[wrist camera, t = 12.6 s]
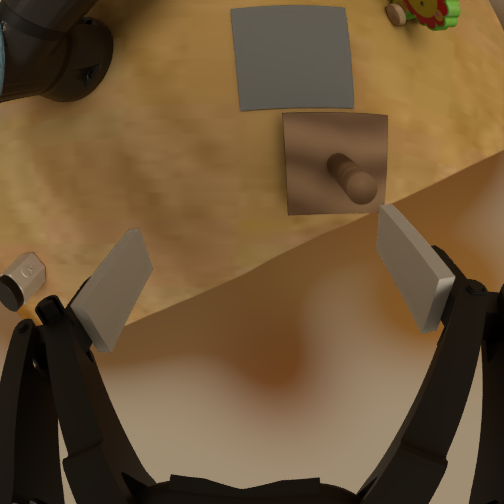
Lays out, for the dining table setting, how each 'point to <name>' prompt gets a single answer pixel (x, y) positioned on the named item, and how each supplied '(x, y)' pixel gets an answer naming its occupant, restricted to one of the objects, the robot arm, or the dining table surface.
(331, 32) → the mat
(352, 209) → the lid
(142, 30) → the dining table surface
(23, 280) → the jar
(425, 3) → the toy lion
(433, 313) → the robot arm
